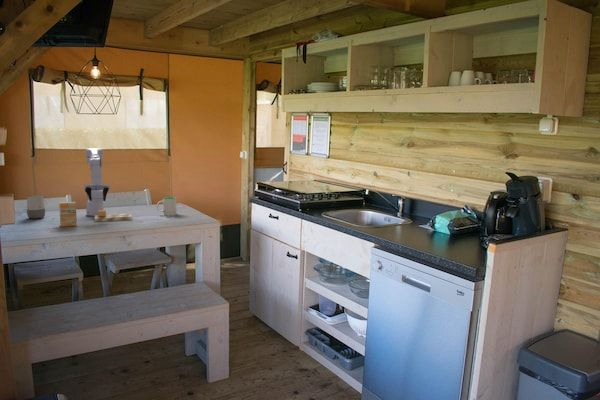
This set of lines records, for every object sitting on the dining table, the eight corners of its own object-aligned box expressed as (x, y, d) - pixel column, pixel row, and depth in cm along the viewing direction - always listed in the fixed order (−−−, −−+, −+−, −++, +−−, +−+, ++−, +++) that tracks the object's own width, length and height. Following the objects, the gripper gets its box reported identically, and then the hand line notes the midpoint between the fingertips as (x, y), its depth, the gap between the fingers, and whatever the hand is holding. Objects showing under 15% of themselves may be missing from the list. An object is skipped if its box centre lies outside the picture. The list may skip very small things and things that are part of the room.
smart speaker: (40, 216, 292) (38, 193, 290) (48, 217, 287) (47, 194, 285) (24, 218, 284) (22, 194, 282) (32, 220, 279) (31, 196, 277)
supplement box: (60, 227, 263) (59, 203, 261) (60, 225, 268) (58, 202, 266) (77, 225, 267) (76, 202, 265) (76, 224, 271) (75, 201, 269)
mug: (158, 216, 299) (158, 199, 297) (155, 214, 306) (155, 197, 304) (178, 214, 305) (177, 198, 303) (174, 212, 312) (174, 196, 310)
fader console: (94, 221, 279) (94, 218, 278) (94, 218, 288) (94, 215, 287) (131, 219, 286) (131, 216, 286) (130, 216, 295) (130, 213, 295)
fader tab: (98, 216, 282) (98, 211, 281) (98, 215, 285) (98, 210, 285) (105, 216, 283) (105, 211, 283) (105, 214, 287) (105, 209, 286)
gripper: (84, 175, 275) (85, 198, 273) (111, 176, 284) (112, 199, 281) (81, 179, 281) (83, 201, 278) (107, 179, 289) (109, 202, 287)
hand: (97, 200), depth 280 cm, fingers open, 7 cm apart
